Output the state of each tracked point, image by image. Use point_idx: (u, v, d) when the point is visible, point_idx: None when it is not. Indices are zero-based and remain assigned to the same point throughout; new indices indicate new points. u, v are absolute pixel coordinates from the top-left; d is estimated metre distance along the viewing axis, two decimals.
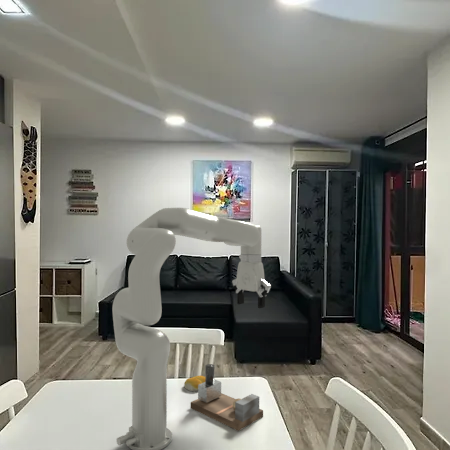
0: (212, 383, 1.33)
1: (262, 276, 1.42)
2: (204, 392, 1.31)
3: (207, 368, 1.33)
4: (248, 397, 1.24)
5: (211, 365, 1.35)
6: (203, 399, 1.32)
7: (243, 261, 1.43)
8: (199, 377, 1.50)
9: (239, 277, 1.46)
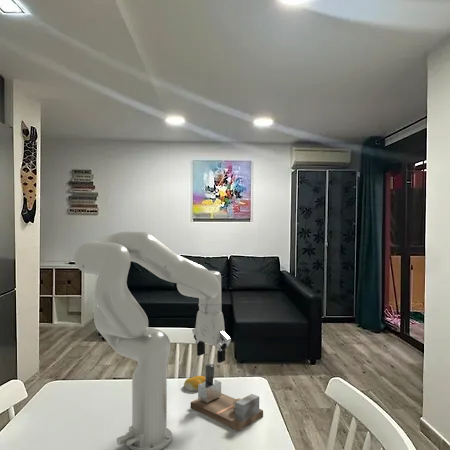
0: (212, 383, 1.33)
1: (222, 328, 1.31)
2: (204, 392, 1.31)
3: (207, 368, 1.33)
4: (248, 397, 1.24)
5: (211, 365, 1.35)
6: (203, 399, 1.32)
7: (201, 311, 1.32)
8: (199, 377, 1.50)
9: (197, 327, 1.35)
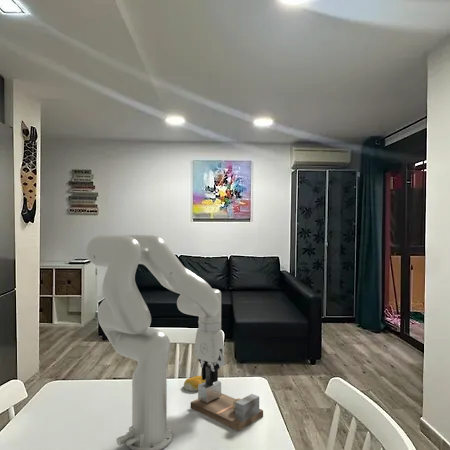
0: (212, 383, 1.33)
1: (221, 346, 1.31)
2: (204, 392, 1.31)
3: (207, 368, 1.33)
4: (248, 397, 1.24)
5: None
6: (203, 399, 1.32)
7: (201, 330, 1.32)
8: (199, 377, 1.50)
9: (197, 345, 1.35)
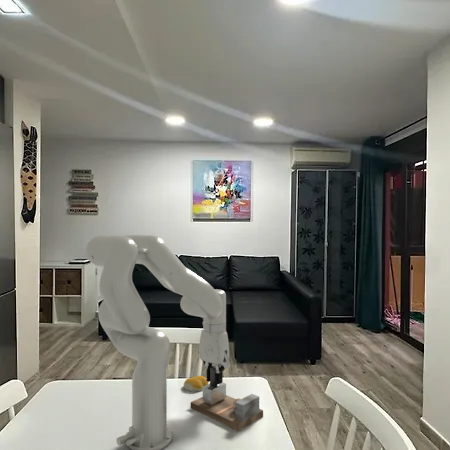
0: (217, 385, 1.32)
1: (226, 348, 1.30)
2: (209, 394, 1.30)
3: (212, 370, 1.32)
4: (248, 397, 1.24)
5: None
6: (208, 401, 1.30)
7: (205, 331, 1.30)
8: (199, 377, 1.50)
9: (201, 347, 1.33)
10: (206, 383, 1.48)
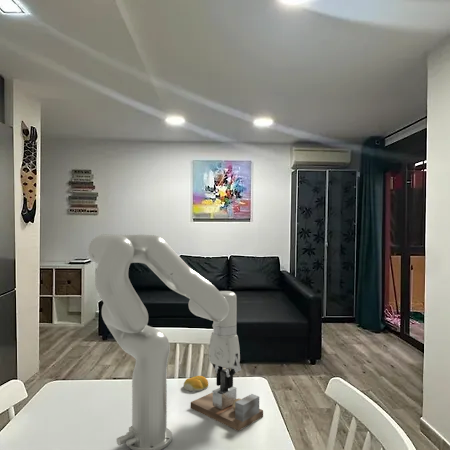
0: (227, 389, 1.29)
1: (237, 351, 1.27)
2: (219, 398, 1.27)
3: (222, 373, 1.28)
4: (248, 397, 1.24)
5: None
6: (218, 406, 1.27)
7: (216, 334, 1.27)
8: (198, 377, 1.50)
9: (211, 350, 1.30)
10: (206, 383, 1.48)
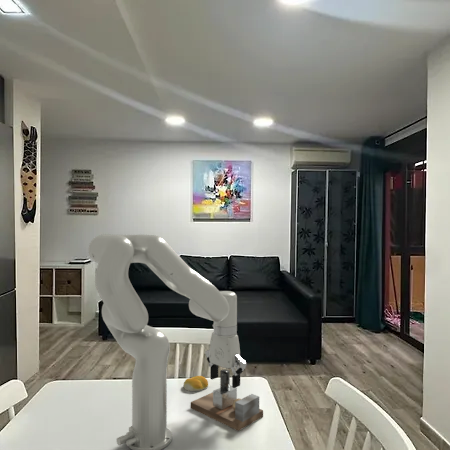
0: (227, 389, 1.29)
1: (237, 351, 1.26)
2: (219, 398, 1.26)
3: (222, 374, 1.28)
4: (248, 397, 1.24)
5: (226, 370, 1.30)
6: (218, 406, 1.27)
7: (216, 334, 1.27)
8: (198, 377, 1.49)
9: (211, 350, 1.30)
10: (206, 383, 1.48)
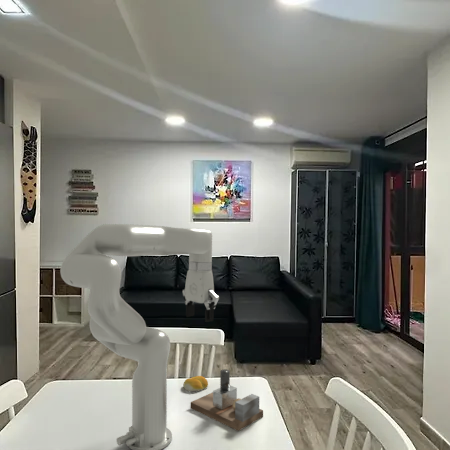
0: (227, 389, 1.29)
1: (211, 286, 1.29)
2: (219, 398, 1.26)
3: (222, 374, 1.28)
4: (248, 397, 1.24)
5: (226, 370, 1.30)
6: (218, 406, 1.27)
7: (190, 269, 1.30)
8: (198, 377, 1.49)
9: (187, 287, 1.33)
10: (206, 383, 1.48)
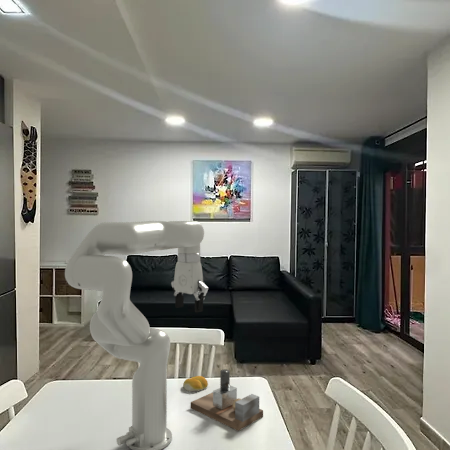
0: (227, 389, 1.29)
1: (200, 277, 1.31)
2: (219, 398, 1.26)
3: (222, 374, 1.28)
4: (248, 397, 1.24)
5: (226, 370, 1.30)
6: (218, 406, 1.27)
7: (179, 261, 1.31)
8: (198, 377, 1.49)
9: (176, 278, 1.34)
10: (205, 383, 1.48)
